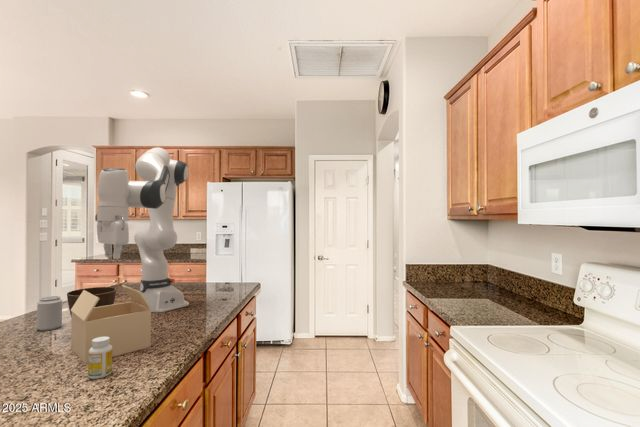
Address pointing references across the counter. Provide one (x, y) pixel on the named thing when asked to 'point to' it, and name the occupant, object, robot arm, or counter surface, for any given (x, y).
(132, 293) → the flap
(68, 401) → the counter surface
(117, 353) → the carton
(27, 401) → the counter surface
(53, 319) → the can
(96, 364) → the supplement bottle
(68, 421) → the counter surface
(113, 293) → the plant pot
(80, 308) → the flap
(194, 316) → the counter surface
